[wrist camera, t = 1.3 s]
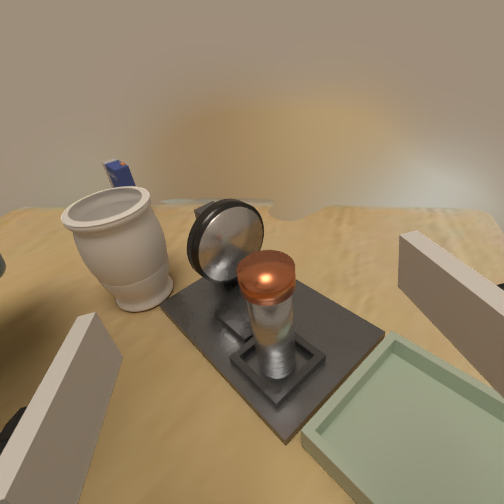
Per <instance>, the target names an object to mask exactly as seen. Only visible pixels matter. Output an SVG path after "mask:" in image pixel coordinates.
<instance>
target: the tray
mask: <svg viewBox="0 0 504 504" xmlns="http://www.w3.org/2000/svg"><path fill="white" fill-rule="evenodd" d="M301 440H302V447H303V448H304V449H305V450H306V451H307V452H308V453H309V454H310V455H311V456H312V457H313V458H314V459H315V460H316V461H317V462H318V463H319V464H320V465H321V466H322V467H323V469H324V470H325V471H326V472H327V473H328V474H329V475H330V476H331V477H332V478H333V479H334V480H335V481H336V482H337V483H338V484H339V485H340V486H341V487H342V488H343V489H344V490H345V492H346V493H347V494H348V495H349V496H350V497H351V498H352V499H353V500H354V501H355V502H356V503H357V504H504V398H503V397H502V396H501V395H500V394H499V393H498V392H497V391H496V390H494V389H493V388H491V387H489V386H487V385H486V384H484V383H482V382H480V381H479V380H477V379H475V378H474V377H472V376H470V375H468V374H467V373H465V372H463V371H461V370H460V369H458V368H456V367H454V366H453V365H451V364H449V363H447V362H446V361H444V360H442V359H441V358H439V357H437V356H435V355H434V354H432V353H430V352H428V351H427V350H425V349H423V348H421V347H420V346H418V345H416V344H414V343H413V342H411V341H409V340H408V339H406V338H404V337H402V336H401V335H399V334H397V333H395V332H394V331H391V332H390V333H389V334H388V335H387V336H386V337H385V338H384V339H383V340H382V342H381V343H380V344H379V345H378V346H377V347H376V348H375V349H374V350H373V351H372V353H371V354H370V355H369V356H368V357H367V358H366V359H365V360H364V361H363V362H362V363H361V365H360V366H359V367H358V368H357V369H356V370H355V371H354V372H353V373H352V374H351V376H350V377H349V378H348V379H347V380H346V381H345V382H344V383H343V384H342V385H341V387H340V388H339V389H338V390H337V391H336V392H335V393H334V394H333V395H332V396H331V398H330V399H329V400H328V401H327V402H326V403H325V404H324V405H323V406H322V407H321V409H320V410H319V411H318V412H317V413H316V414H315V415H314V416H313V417H312V418H311V420H310V421H309V422H308V423H307V424H306V425H305V426H304V427H303V428H302V429H301Z"/></svg>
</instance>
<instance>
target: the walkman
mask: <svg viewBox="0 0 504 504" xmlns="http://www.w3.org/2000/svg"><path fill="white" fill-rule="evenodd" d="M102 164H103V166H104V169H105V171H106V173H107V176H108V178H109V181H110V183H111V186H112V188H116V187H125V186H135V183H134V181H133V178H132V175H131V172H130V169H129V167H128V166H127V165H126V164H125V163H123V162H120V161H119V160H117V159H111V160H107V161H105V162H102ZM135 187H136V186H135Z"/></svg>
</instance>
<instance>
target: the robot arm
mask: <svg viewBox="0 0 504 504" xmlns="http://www.w3.org/2000/svg"><path fill="white" fill-rule="evenodd" d="M5 270H6V264H5V261H4V259H3V258H2V256H1V254H0V277H1V276H2V275H3V274H4V272H5ZM398 287H399V288H400V289H401V290H402V291H403V292H404V293H405V295H406V296H407V297H408V298H409V299H410V300H411V301H412V302H413V303H414V304H415V305H416V306H417V307H418V308H419V309H420V310H421V311H422V313H423V314H424V315H425V316H426V317H427V318H428V319H429V320H430V321H431V322H432V323H433V324H434V325H435V326H436V327H437V328H438V329H439V331H440V332H441V333H442V334H443V335H444V336H445V337H446V338H447V339H448V340H449V341H450V342H451V343H452V344H453V345H454V346H455V347H456V349H457V350H458V351H459V352H460V353H461V354H462V355H463V356H464V357H465V358H466V359H467V360H468V361H469V362H470V363H471V364H472V365H473V367H474V368H475V369H476V370H477V371H478V372H479V373H480V374H481V375H482V376H483V377H484V378H485V379H486V380H487V381H488V382H489V383H490V385H491V386H492V387H493V388H494V389H495V390H496V391H497V392H498V393H499V394H500V395H501V396H502V397H503V398H504V283H503V284H499V285H495V284H494V283H492V282H491V281H489V280H488V279H486V278H485V277H484V276H482V275H481V274H479V273H478V272H476V271H475V270H474V269H472V268H471V267H469V266H468V265H466V264H465V263H463V262H462V261H461V260H459V259H458V258H456V257H455V256H453V255H452V254H450V253H449V252H448V251H446V250H445V249H443V248H442V247H440V246H439V245H438V244H436V243H435V242H433V241H432V240H430V239H429V238H427V237H426V236H425V235H423V234H422V233H420V232H419V231H417V230H416V231H412V232H408V233H404V234H400V235H399V267H398ZM122 359H123V356H122V354H121V352H120V351H119V349H118V348H117V346H116V344H115V343H114V341H113V339H112V338H111V336H110V335H109V333H108V331H107V330H106V328H105V326H104V325H103V323H102V322H101V320H100V318H99V317H98V315H97V313H96V312H94V313H90V314H86V315H82V316H78V317H77V319H76V321H75V322H74V324H73V326H72V328H71V330H70V331H69V333H68V335H67V337H66V339H65V340H64V342H63V344H62V346H61V348H60V349H59V351H58V353H57V355H56V357H55V358H54V360H53V362H52V364H51V365H50V367H49V369H48V371H47V373H46V374H45V376H44V378H43V380H42V382H41V383H40V385H39V387H38V389H37V391H36V392H35V394H34V396H33V398H32V400H31V401H30V403H29V405H28V406H27V407H23V408H20V409H19V411H18V412H17V413H16V414H15V415H14V416H13V417H12V418H11V419H10V421H9V422H8V423H7V424H6V425H5V427H4V429H3V430H2V432H1V434H0V504H78V502H79V499H80V495H81V492H82V489H83V486H84V482H85V479H86V476H87V473H88V469H89V466H90V463H91V460H92V456H93V453H94V450H95V447H96V443H97V440H98V437H99V434H100V430H101V427H102V424H103V421H104V417H105V414H106V411H107V408H108V404H109V401H110V398H111V395H112V391H113V388H114V385H115V382H116V378H117V375H118V372H119V369H120V365H121V362H122Z"/></svg>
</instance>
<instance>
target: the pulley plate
mask: <svg viewBox="0 0 504 504" xmlns="http://www.w3.org/2000/svg"><path fill="white" fill-rule="evenodd" d="M194 212H195V216H196V221H195V222H194V224H193V226H192V228H191V231H190V233H189V237H188V242H187V255H188V260H189V262H190V264H191V266H192V268H193V269H194V270H195V271H196V272H197V273H198V274H200V275H201V276H202V277H203V278H201V279H199V280H198V281H196V282H194V283H193V284H191V285H189V286H188V287H186V288H184V289H183V290H181V291H180V292H178V293H176V294H175V295H173V296H171V297H170V298H168V299H166V300H165V301H163V302H161V303H160V304H159V305H160V308H161V310H162V311H163V312H164V313H165V314H166V315H167V316H168V317H169V318H170V319H171V321H172V322H173V323H174V324H175V325H176V326H177V327H178V328H179V329H180V330H181V331H182V333H183V334H184V335H185V336H186V337H187V338H188V339H189V340H190V341H191V342H192V344H193V345H194V346H195V347H196V348H197V349H198V350H199V351H200V352H201V353H202V354H203V356H204V357H205V358H206V359H207V360H208V361H209V362H210V363H211V364H212V365H213V367H214V368H215V369H216V370H217V371H218V372H219V373H220V374H221V375H222V376H223V377H224V379H225V380H226V381H227V382H228V383H229V384H230V385H231V386H232V387H233V388H234V390H235V391H236V392H237V393H238V394H239V395H240V396H241V397H242V398H243V399H244V400H245V402H246V403H247V404H248V405H249V406H250V407H251V408H252V409H253V410H254V411H255V413H256V414H257V415H258V416H259V417H260V418H261V419H262V420H263V421H264V422H265V423H266V425H267V426H268V427H269V428H270V429H271V430H272V431H273V432H274V433H275V434H276V435H277V437H278V438H279V439H280V440H281V441H282V442H283V443H284V444H285V445H287V444H288V442H289V441H290V440H291V439H292V438H293V437H294V436H295V435H296V434H297V433H298V432H299V430H300V429H301V428H302V427H303V426H304V425H305V424H306V423H307V422H308V421H309V419H310V418H311V417H312V416H313V415H314V414H315V413H316V412H317V411H318V410H319V408H320V407H321V406H322V405H323V404H324V403H325V402H326V401H327V400H328V399H329V398H330V396H331V395H332V394H333V393H334V392H335V391H336V390H337V389H338V388H339V387H340V385H341V384H342V383H343V382H344V381H345V380H346V379H347V378H348V377H349V376H350V374H351V373H352V372H353V371H354V370H355V369H356V368H357V367H358V366H359V365H360V364H361V362H362V361H363V360H364V359H365V358H366V357H367V356H368V355H369V354H370V353H371V351H372V350H373V349H374V348H375V347H376V346H377V345H378V344H379V343H380V342H381V341H382V339H383V338H384V336H385V331H383V330H381V329H380V328H378V327H376V326H374V325H373V324H371V323H369V322H368V321H366V320H364V319H362V318H361V317H359V316H357V315H356V314H354V313H352V312H351V311H349V310H347V309H345V308H344V307H342V306H340V305H339V304H337V303H335V302H334V301H332V300H330V299H328V298H327V297H325V296H323V295H322V294H320V293H318V292H317V291H315V290H313V289H311V288H310V287H308V286H306V285H305V284H303V283H301V282H300V281H298V280H296V287H295V291H294V293H293V294H292V308H293V324H294V339H295V355H296V365H295V368H294V370H293V371H292V373H291V374H289V375H288V376H286V377H284V378H279V379H274V378H270V377H268V376H266V375H265V374H263V373H262V371H261V370H260V368H259V364H258V359H257V353H256V348H255V342H254V337H253V332H252V326H251V321H250V315H249V310H248V305H247V300H245V299H244V298H243V296H242V295H241V292H240V287H239V282H238V277H237V272H236V271H237V266H238V264H239V263H240V261H241V260H242V259H243V258H245V257H246V256H248V255H250V254H252V253H254V252H258V251H260V249H261V246H262V242H263V237H264V226H263V221H262V218H261V216H260V214H259V213H258V211H257V210H256V209H255V208H254V207H252V206H251V205H249V204H246V203H244V202H242V201H239V200H236V199H224V200H220V201H218V202H213V201H212V202H210V203H208V204H206V205H204V206H202V207H199V208H197V209H195V210H194Z"/></svg>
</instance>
